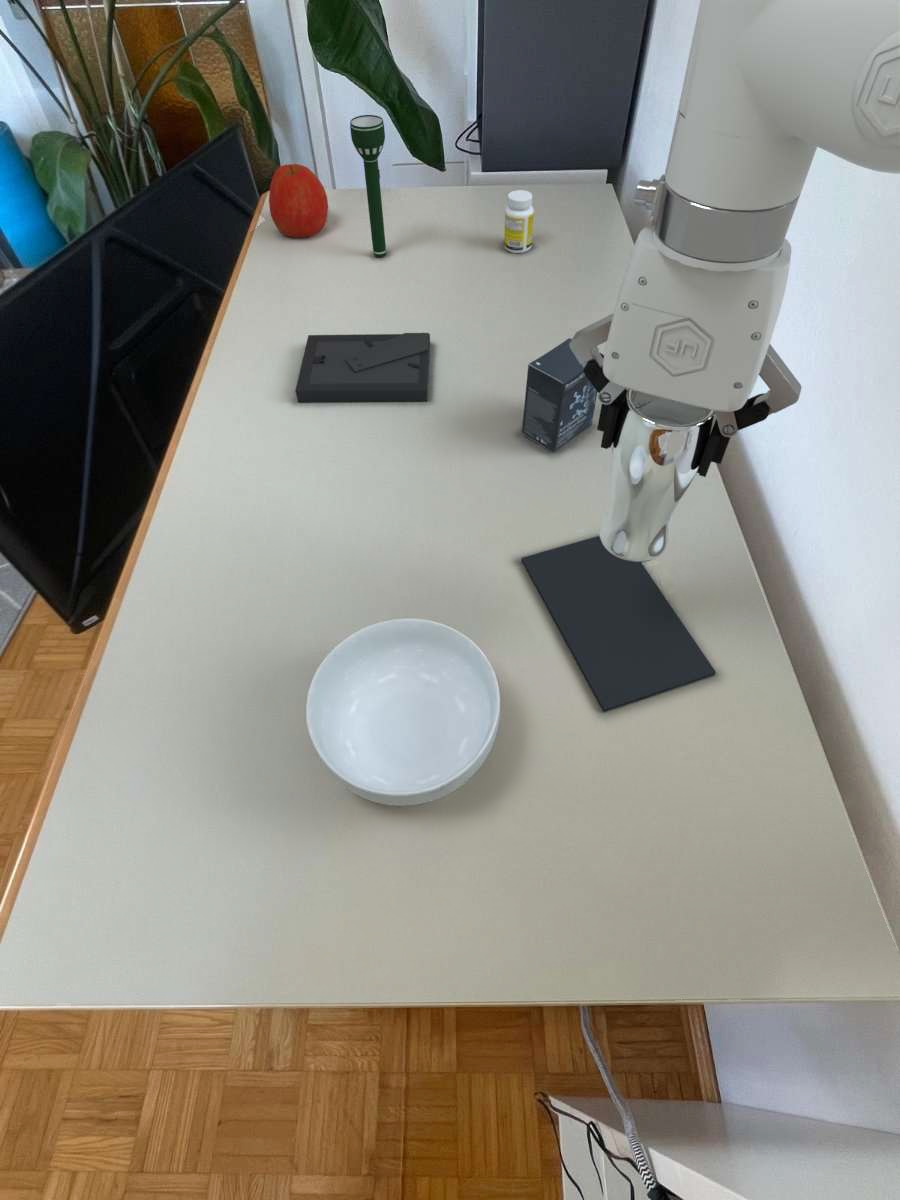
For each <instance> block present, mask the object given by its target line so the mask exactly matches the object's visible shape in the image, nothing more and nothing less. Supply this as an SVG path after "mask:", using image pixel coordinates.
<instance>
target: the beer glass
mask: <svg viewBox="0 0 900 1200" xmlns="http://www.w3.org/2000/svg"><path fill="white" fill-rule="evenodd" d="M715 416H716V414H715V411H714V410H709V409H705V408H700V407H696V406H692V405H688V404H684V403H680V402H676V401H673V400H669V399H665V398H661V397H657V396H653V395H649V394H646V393H642V392H638V391H634V390H631V389H627V392H626V397H625V401H624V404H623V407H622V410H621V413H620V416H619V420H618V423H617V427H616V431H615V435H614V441H613V443H612V446H611V458H610V489H611V491H610V504H609V507H608V510H607V512H606V514H605V515H604V518H603V520H602V522H601V524H600V526H599V527H600V528H599V532H598V533H599V536H600V540H601V542H602V544H603V546H604V547H605V549H606V550H607V551H608V552H610V553H611V554H612V555H614V556H616V557H617V558H620V559H622V560H626V561H630V562H641V563H645V562H651V561H653V560H655V559H657V558H658V557H660V556H661V555H662V554H663V553H664V552H665V551H666V549H667V546H668V543H669V537H670V536H669V535H670V522H671V518H672V517H673V514H674V512H675V510H676V509H677V507H678V505H679V504H680V502H681V500H682V499H683V497H684V495H685V494H686V492H687V491H688V489H689V488H690V486H691V484H692V482H693V480H694V479H695V476H696V474H698V473H697V471H698V468H699V465H700V462H701V459H702V456H703V454H704V451H705V448H706V445H707V442H708V439H709V436H710V434H711V431H712V428H713V425H714V424H713V423H714V419H715Z"/></svg>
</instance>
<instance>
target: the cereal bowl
mask: <svg viewBox="0 0 900 1200" xmlns="http://www.w3.org/2000/svg"><path fill="white" fill-rule="evenodd" d="M305 702H306V703H305V723H306V727H307V734H308V735H309V740H310V742H311V744H312V746H313V749H314V751H315V753H316V755H317V756H318V757H317V758H318V759H319V760H320V761H321V763H322V765H323V766H324V768H325V769H326V770H327V771H328V773H329V774H330V775H331V777H332V778H334V779H335V780H336V781H337V782H338V783H339V784H340V785H342V786H343V787H344V788H345V789H347V790H349V791H350V792H351V793H353V794H355V795H357V796H359V797H361V798H362V799H366V800H369V801H371V802H372V803H379V804H382V805H387V806H388V805H389V806H402V807H405V806H416V805H420V804H421V805H422V804H424V803H425V804H426V803H430V802H432V801H435V800H438V799H441V798H443V797H444V796H447V795H449V794H451V793H453V792H454V791H455V790H457V789H458V788H460V787H462V786H463V785H464V784H466V783H467V782H468V781H469V780H470V779H471V778H472V777H473V776H474V775H475V774H476V772H477V771H479V769H480V768H481V767H482V766H483V764H484V762H485V761H486V759H487V758H488V757H489V754H490V752H491V751H492V748H493V746H494V744H495V741H496V737H497V735H498V729H499V725H500V719H501V692H500V686H499V681H498V679H497V675H496V673H495V670H494V667H493V666H492V663H491V662H490V660H489V658H487V656H486V654H485V653H484V652H483V650H482V649H481V648H480V647H479V646H478V645H477V644H476V643H475V641H473V640H472V639H471V638H469V637H468V636H467V635H465V634H463V633H462V632H461V631H459V630H457V629H455V628H453V627H451V626H449V625H447V624H444V623H441V622H438V621H434V620H430V619H424V618H413V617H412V618H411V617H410V618H409V617H408V618H394V619H389V620H382V621H379V622H376V623H373V624H370V625H367V626H365V627H363V628H361V629H359V630H357V631H355V632H352V633H351V634H350V635H348V636H347V637H345V638H343V640H341V641H340V642H339V643H338V644H336V645H335V646H334V647H333V648H332V649H331V650H330V651H329V652H328V654H326V655H325V657H324V658H323V659H322V661H321V662H320V664H319V665H318V667H317V669H316V670H315V672H314V674H313V676H312V679H311V681H310V684H309V687H308V690H307V695H306V700H305Z"/></svg>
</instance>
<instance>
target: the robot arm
mask: <svg viewBox="0 0 900 1200" xmlns="http://www.w3.org/2000/svg"><path fill="white" fill-rule="evenodd" d="M689 49H690V50H689V54H688V59H687V64H686V68H685V74H684V79H683V82H682V83H683V84H682V88H681V93H680V99H679V103H678V108H677V112H676V117H675V121H674V122H675V123H674V126H673V127H674V128H673V132H672V137H671V142H670V146H669V152H668V156H667V161H666V166H665V172H664V174H662V175H660V178H659V179H656V178H654V179H652V180H647V179H646V180H645V179H640V180H639V182H638V185H637V187H636V192H635V196H634V205H635V206H640V207H645V210H650V217H652V220H650V221H649V222H648V223H647V224H646V225H645V226H644V227H643V228H642V229H641V230H640V231H639V233H638V236H637V238H636V240H635V242H634V245H633V247H632V250H631V253H630V256H629V257H628V262H627V265H626V267H625V270H624V274H623V277H622V281H621V283H620V288H619V291H618V295H617V297H616V303H615V307H614V310H613V313H611V314H609V315H607V316H604V317H603V318H601V319H599V320H597V321H595V322H593V323H591V324H589V325H588V326H586V327H584V328H583V327H582V329H579V330H578V331H576V332H575V333H574V335H573V337H572V338H571V339H572V340H571V341H570V343H569V346H570V349H571V350H572V352H573V353H574V355H575V357H576V358H577V360H578V361H579V363H580V365H581V364H582V366H583V367H584V374H585V376H586V377H587V378H588V380H589V381H590V382H591V384H592V385H593V386H594V388H595V389H596V390H597V392H598V393H597V400H598V402H599V403H600V405H601V406H600V412H599V416H598V422H597V428H596V429H597V431H600V432H603V433H602V438H601V443H600V448H602V449H604V450H605V449H606V450H607V449H611V448H612V446H613V441H614V435H615V431H616V427H617V423H618V420H619V416H620V413H621V410H622V407H623V404H624V401H625V397H626V392H627V389H631V390H634V391H638V392H642V393H646V394H649V395H653V396H657V397H661V398H665V399H669V400H673V401H676V402H680V403H684V404H688V405H692V406H696V407H700V408H705V409H709V410H714V411H715V418H716V419H715V421H714V422H713V423H714V424H713V425H712V428H711V432H710V436H709V439H708V442H707V445H706V448H705V451H704V454H703V456H702V459H701V462H700V465H699V468H698V471H697V473H696V474H698V476H700V477H704V478H706V477H707V474H708V471H709V469H710V466H711V464H712V463H715V464H719V465H721V464H722V462H723V459H724V456H725V453H726V452H727V451H726V450H727V448H728V445H729V443H730V440H731V438H733V437H735V436H736V435H737V434H738V431H741V430H744V429H746V428H748V427H751V426H753V425H756V424H759V423H761V422H764V421H765V420H766V419H767V418H768V417H769V416H771V415H772V414H777V413H778V412H780V411H783V410H784V409H787V408H789V407H791V406H792V405H795V404H796V403H797V402H798V401H799V399H800V395H801V393H802V385H801V383H800V381H798V379H797V378H796V376H795V375H794V374H793V373H792V371H791V370H790V368H789V367H788V366H787V364H786V363H785V361H784V360H783V359H782V358H781V357H780V355H779V353H778V352H777V351H776V350H775V348H774V347H773V346H772V344H771V341H772V338H773V335H774V331H775V328H776V325H777V322H778V319H779V316H780V312H781V309H782V306H783V305H782V304H783V302H784V298H785V292H786V288H787V283H788V279H789V272H790V266H791V257H792V246H791V243H790V241H789V240H788V239H787V238H786V236H787V233H788V230H789V228H790V224H791V222H792V219H793V217H794V213H795V211H796V209H797V208H796V207H797V205H798V203H799V199H800V196H801V193H802V191H803V189H804V185H805V183H806V180H807V177H808V174H809V171H810V168H811V166H812V163H813V160H814V158H815V154H816V151H817V149H818V148H820V149H821V150H824V151H826V152H828V153H830V154H831V155H834V156H836V157H838V158H839V159H842V160H844V161H846V162H849V163H851V164H854V165H855V166H858V167H862V168H864V169H867V170H871V171H873V172H878V173H879V172H880V173H886V174H894V175H896V174H897V175H898V174H900V0H700V1H699V6H698V11H697V15H696V20H695V26H694V30H693V36H692V39H691V45H690V48H689ZM604 343H605V347H604V353H601V352H600V349H599V347H598V346H600V345H602V344H604ZM759 377H760V378H761V380H762V381H763V382H764V383H765V385H766V386H767V387H768V390H767V391H766V392H765V393H764V392H763V393H758V394H756V395H753V396H752V397H750V396H751V394H752V392H753V390H754V388H755V385H756V384H757V381H758V378H759Z"/></svg>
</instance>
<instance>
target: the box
mask: <svg viewBox="0 0 900 1200" xmlns="http://www.w3.org/2000/svg"><path fill="white" fill-rule="evenodd" d="M571 340H572V338H571V337H568V338H567V339H565V340H564V341H562V342H561V343H559V344H558V345H556V346H555V347H554V348H552V349H551V350H549V351H547V352H546V353H544V354H543V355H541V356H540V357H538V358H536V359H534V360H533V361H531V362H530V363H528V364H527V373H526V374H527V375H526V384H525V385H526V386H525V395H524V405H523V417H522V427H521V435H523V436H524V437H526V438H528V439H529V440H531V441H532V442H533V443H536V444H537V445H539V446H540V447H542V448H543V449H545V450H547V451H548V452H550V453H552V454H554V453H556V452H557V451H558V450H559V449H561V448H562V447H564V446H565V445H566V444H568V443H569V442H570V441H572V440H573V439H574V438H576V437H578V436H579V435H580V434H582V433H583V432H584V431H586V430H587V429H589V428H590V427H591V426H592V424H593V420H594V414H595V413H594V412H595V409H596V403H597V399H598V394H599V393H598V392H597V390H596V389H595V388H594V386H593V385H592V384H591V382H590V381H589V380H588V378H587V377H586V376H585V374H584V367H583V366H582V364H581V365H580V363H579V361H578V360H577V358H576V357H575V355H574V353H573V352H572V350H571V349H570V346H569V343H570V341H571Z"/></svg>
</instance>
